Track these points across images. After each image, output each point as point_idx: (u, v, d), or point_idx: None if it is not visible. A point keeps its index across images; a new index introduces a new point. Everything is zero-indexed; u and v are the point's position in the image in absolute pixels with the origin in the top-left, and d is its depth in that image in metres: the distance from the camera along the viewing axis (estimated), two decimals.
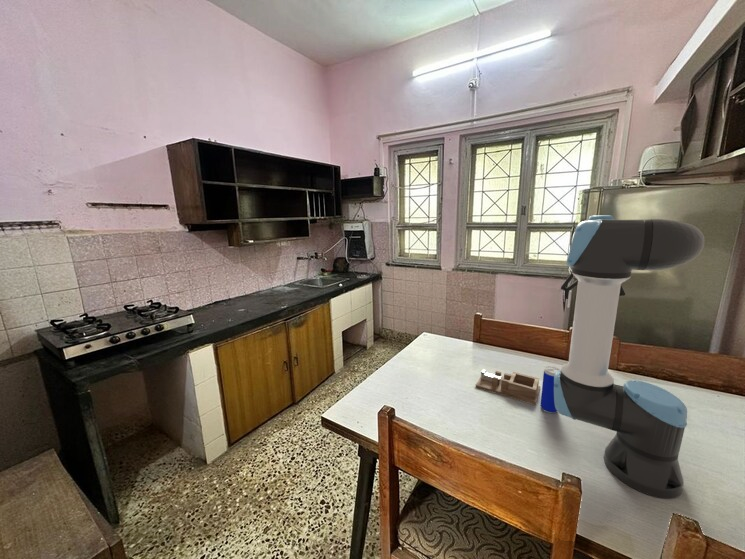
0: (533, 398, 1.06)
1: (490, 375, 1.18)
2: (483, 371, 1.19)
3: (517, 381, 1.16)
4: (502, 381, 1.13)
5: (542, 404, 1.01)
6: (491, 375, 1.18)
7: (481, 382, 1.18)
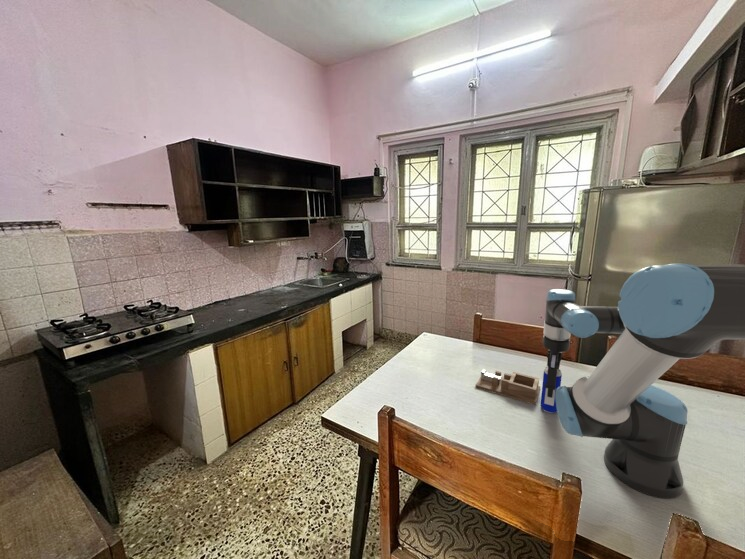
0: (533, 398, 1.06)
1: (490, 375, 1.18)
2: (483, 371, 1.19)
3: (517, 381, 1.16)
4: (502, 381, 1.13)
5: (542, 404, 1.01)
6: (491, 375, 1.18)
7: (481, 382, 1.18)
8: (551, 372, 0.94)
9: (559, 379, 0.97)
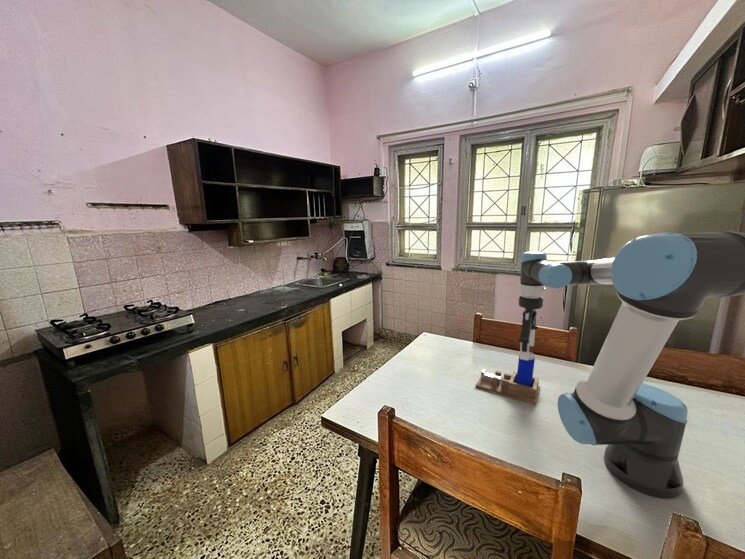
0: (533, 398, 1.06)
1: (490, 375, 1.18)
2: (483, 371, 1.19)
3: None
4: (502, 381, 1.13)
5: None
6: (491, 375, 1.18)
7: (481, 382, 1.18)
8: (525, 324, 0.99)
9: (532, 362, 1.06)
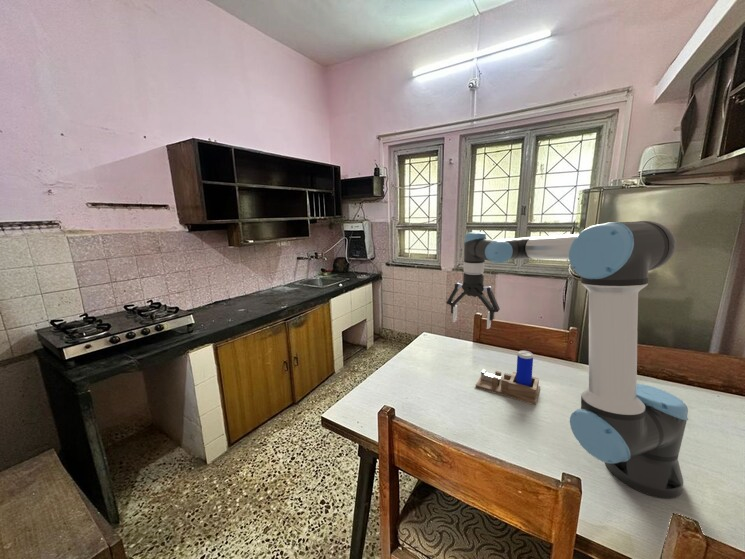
0: (533, 398, 1.06)
1: (490, 375, 1.18)
2: (483, 371, 1.19)
3: None
4: (502, 381, 1.13)
5: None
6: (491, 375, 1.18)
7: (481, 382, 1.18)
8: (492, 296, 1.11)
9: (530, 361, 1.07)
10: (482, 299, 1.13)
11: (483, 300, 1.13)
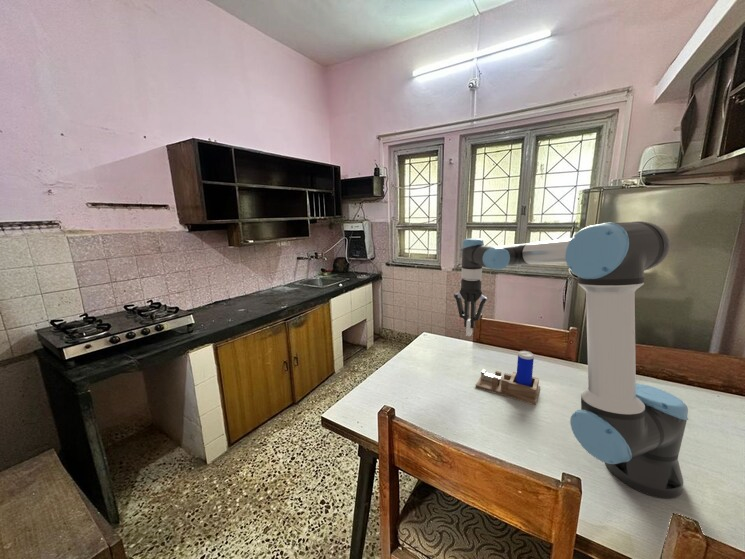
0: (533, 398, 1.06)
1: (490, 375, 1.18)
2: (483, 371, 1.19)
3: None
4: (502, 381, 1.13)
5: None
6: (491, 375, 1.18)
7: (481, 382, 1.18)
8: (482, 306, 1.14)
9: (531, 362, 1.06)
10: (472, 306, 1.16)
11: (472, 307, 1.16)
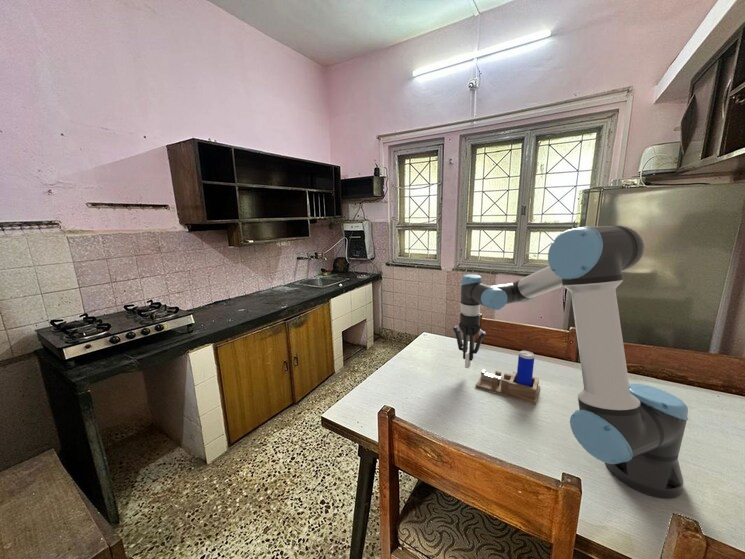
0: (533, 398, 1.06)
1: (490, 375, 1.18)
2: (483, 371, 1.19)
3: None
4: (502, 381, 1.13)
5: None
6: (491, 375, 1.18)
7: (481, 382, 1.18)
8: (481, 340, 1.17)
9: (531, 361, 1.07)
10: (471, 340, 1.19)
11: (471, 341, 1.19)
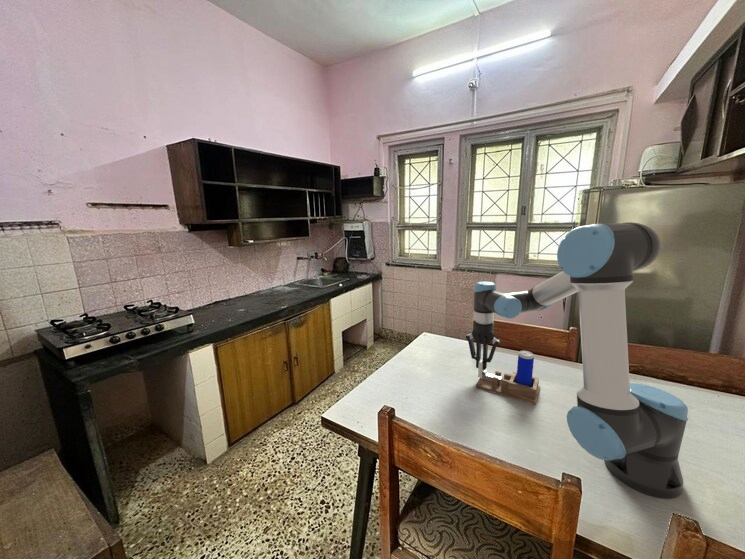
0: (533, 398, 1.06)
1: (491, 375, 1.18)
2: (484, 371, 1.19)
3: None
4: (502, 381, 1.13)
5: None
6: (492, 375, 1.17)
7: (481, 382, 1.18)
8: (495, 349, 1.15)
9: (531, 361, 1.07)
10: (484, 348, 1.16)
11: (484, 350, 1.16)
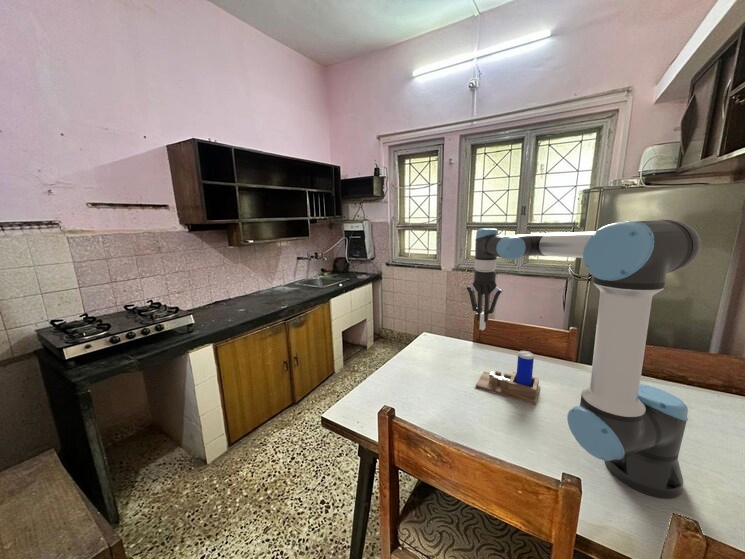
0: (533, 398, 1.06)
1: (498, 377, 1.16)
2: (491, 373, 1.17)
3: None
4: (502, 381, 1.13)
5: None
6: (500, 377, 1.16)
7: (481, 382, 1.18)
8: (497, 299, 1.10)
9: (531, 362, 1.07)
10: (486, 299, 1.12)
11: (486, 300, 1.12)
